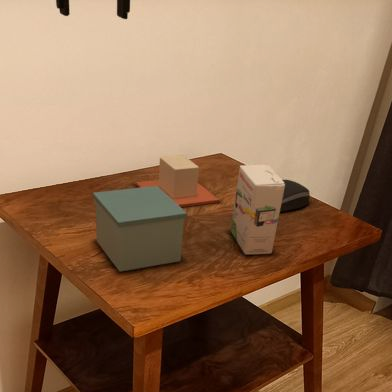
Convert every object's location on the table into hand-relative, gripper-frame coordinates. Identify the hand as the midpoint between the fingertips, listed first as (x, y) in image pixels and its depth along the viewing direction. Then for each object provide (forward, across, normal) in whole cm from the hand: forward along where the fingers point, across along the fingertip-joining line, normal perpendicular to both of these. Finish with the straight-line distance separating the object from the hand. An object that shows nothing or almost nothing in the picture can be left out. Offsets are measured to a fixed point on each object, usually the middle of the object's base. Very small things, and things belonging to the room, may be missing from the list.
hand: (94, 16), depth 87 cm
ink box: (+28, -16, +31) cm, 44 cm away
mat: (+28, -13, +9) cm, 32 cm away
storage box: (+28, +3, +28) cm, 39 cm away
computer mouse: (+27, -31, +18) cm, 45 cm away
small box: (+27, -13, +9) cm, 31 cm away
